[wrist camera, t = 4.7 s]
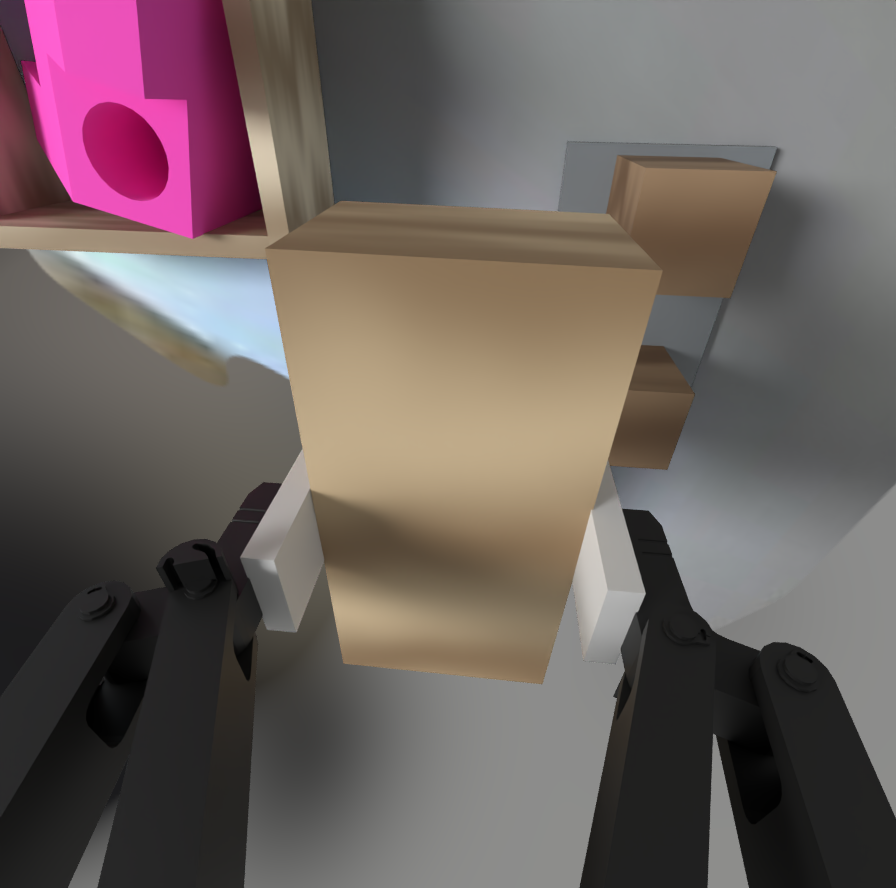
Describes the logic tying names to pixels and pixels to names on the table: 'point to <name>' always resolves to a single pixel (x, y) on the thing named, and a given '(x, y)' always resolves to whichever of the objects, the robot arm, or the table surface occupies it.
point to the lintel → (457, 417)
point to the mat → (587, 191)
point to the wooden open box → (270, 135)
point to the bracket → (142, 110)
